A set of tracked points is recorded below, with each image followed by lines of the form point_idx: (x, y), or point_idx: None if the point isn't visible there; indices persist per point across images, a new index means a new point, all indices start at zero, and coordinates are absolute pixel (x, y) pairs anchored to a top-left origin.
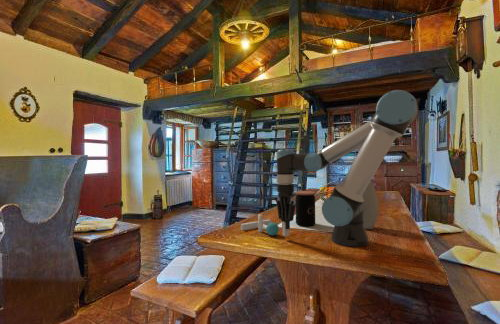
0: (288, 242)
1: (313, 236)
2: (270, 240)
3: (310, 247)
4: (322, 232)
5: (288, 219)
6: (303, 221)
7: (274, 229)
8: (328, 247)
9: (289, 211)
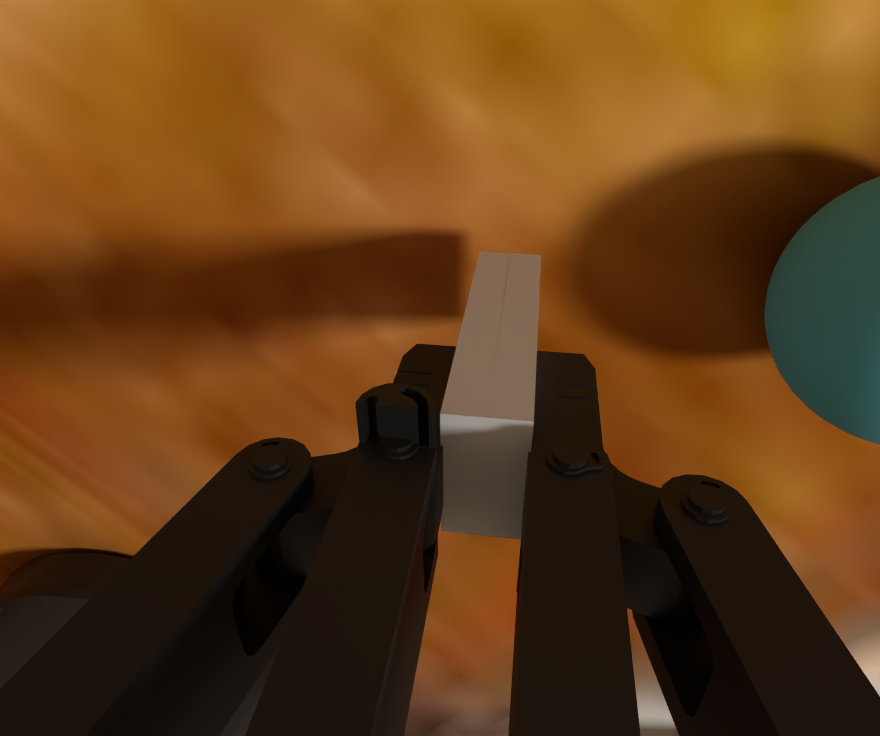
0: (386, 215)
1: None
2: (671, 7)
3: (93, 304)
4: (466, 698)
5: (248, 477)
6: None
7: (805, 274)
8: (47, 439)
9: (27, 726)
